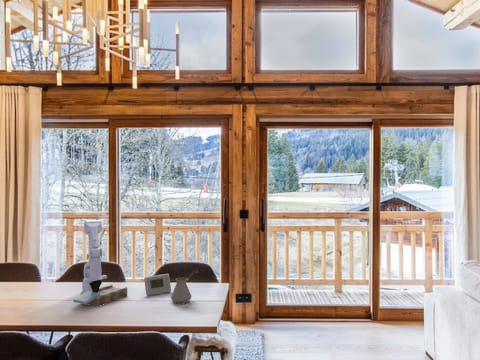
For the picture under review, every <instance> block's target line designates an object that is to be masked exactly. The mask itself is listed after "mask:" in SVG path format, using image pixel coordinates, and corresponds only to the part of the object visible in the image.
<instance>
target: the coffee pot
mask: <svg viewBox="0 0 480 360" xmlns="http://www.w3.org/2000/svg"><path fill="white" fill-rule="evenodd" d="M198 273H199V271H198V270H197V269H195V270H193V271H192V273H190V275H189V276H188V277H178V278H177V277H176V278H175V282H176V284H175V286H174V288H173V291H172V293H171V296H170V299H171V301H172V302H173V303H174V304H176V305H185V304H188V303H189V301H191V299H192V297H193V296H192V293H191V292H190V289H189V286H188V285H187V282H188V281H189V280H190V279H191V278H192V277H193V276H194V274H198Z"/></svg>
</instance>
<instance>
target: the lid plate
mask: <svg viewBox="0 0 480 360" xmlns="http://www.w3.org/2000/svg"><path fill="white" fill-rule="evenodd" d="M81 294H82V293H81ZM81 294H80V295H78V296H76V297H74V298H73V299H72V302H73V303H76V304H82V305H87V303H89V302H91V301H92V300H94V299H96V296H99V295H100V293H96V292H90V291H87V292H85V293H83V294H82V295H81Z"/></svg>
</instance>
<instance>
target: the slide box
mask: <svg viewBox="0 0 480 360" xmlns="http://www.w3.org/2000/svg"><path fill="white" fill-rule="evenodd" d="M90 292H93V291H90ZM98 293H100V295H99V296H96V299H94V300H92V301H91V302H89V303H87V304H89V305H88V306H92V305H94V306H93V307H96V306H98V307H101V306H103V304H104V305H106V303H107V304H110V303H112V302H115V301H118V300H120V299H124V298H126V297H128V286H124V287H116V286H114V285H113V284H109V285H106V286H105V285H104V286H102V287H99V291H98ZM82 294H83V293H80V295H82ZM109 302H110V303H109ZM87 304H86V305H87ZM100 305H101V306H100Z"/></svg>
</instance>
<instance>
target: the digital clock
mask: <svg viewBox="0 0 480 360" xmlns="http://www.w3.org/2000/svg"><path fill="white" fill-rule="evenodd" d="M170 278H171V277H170V274H169V273H165V274H155V275H148V276H145V277H144V288H145V295H146V296H148V297H149V296H156V295H157V296H158V295H162V294H166V293H170V292H172V286H171V279H170Z"/></svg>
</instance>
